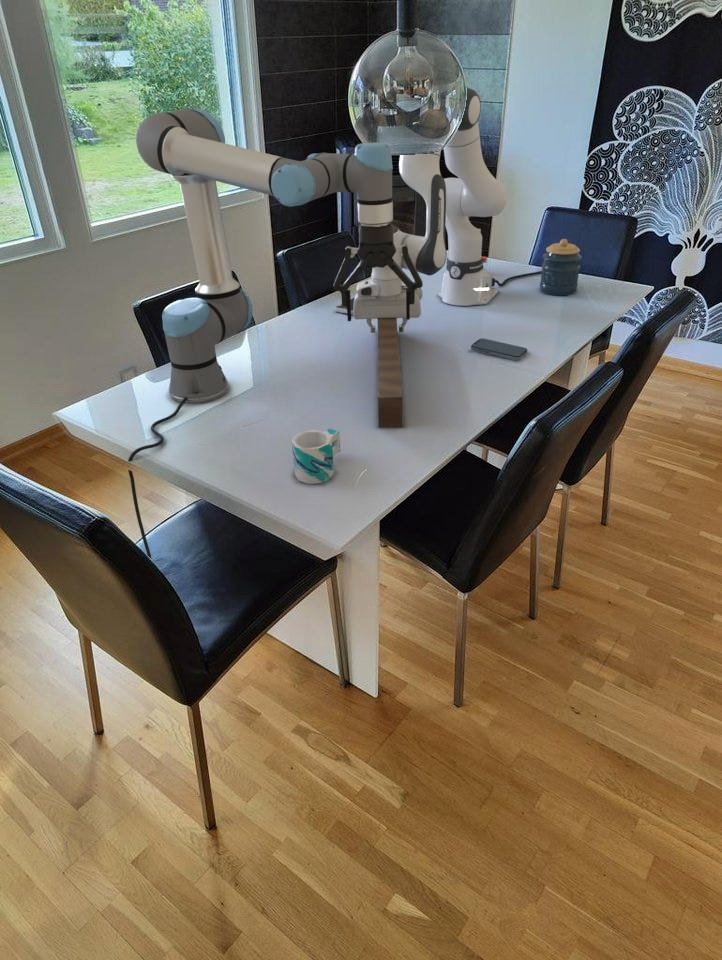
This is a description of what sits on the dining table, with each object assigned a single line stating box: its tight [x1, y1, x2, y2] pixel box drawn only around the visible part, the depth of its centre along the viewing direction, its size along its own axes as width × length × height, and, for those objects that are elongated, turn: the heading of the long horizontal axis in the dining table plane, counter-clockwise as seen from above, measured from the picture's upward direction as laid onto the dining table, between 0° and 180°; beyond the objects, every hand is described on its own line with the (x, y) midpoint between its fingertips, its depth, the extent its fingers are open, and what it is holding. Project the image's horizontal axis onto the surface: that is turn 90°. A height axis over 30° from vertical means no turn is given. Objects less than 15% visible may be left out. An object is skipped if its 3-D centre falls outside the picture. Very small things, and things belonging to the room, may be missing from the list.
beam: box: [377, 318, 403, 428], centre depth 182 cm, size 62×6×8 cm, turn 179°
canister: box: [539, 238, 582, 296], centre depth 234 cm, size 13×13×18 cm
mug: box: [291, 427, 341, 485], centre depth 140 cm, size 8×12×8 cm
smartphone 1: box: [334, 297, 355, 315], centre depth 231 cm, size 8×1×15 cm
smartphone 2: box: [470, 337, 528, 361], centre depth 193 cm, size 8×2×15 cm
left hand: (378, 318), depth 156 cm, fingers open, 13 cm apart
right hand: (387, 331), depth 202 cm, fingers open, 7 cm apart
